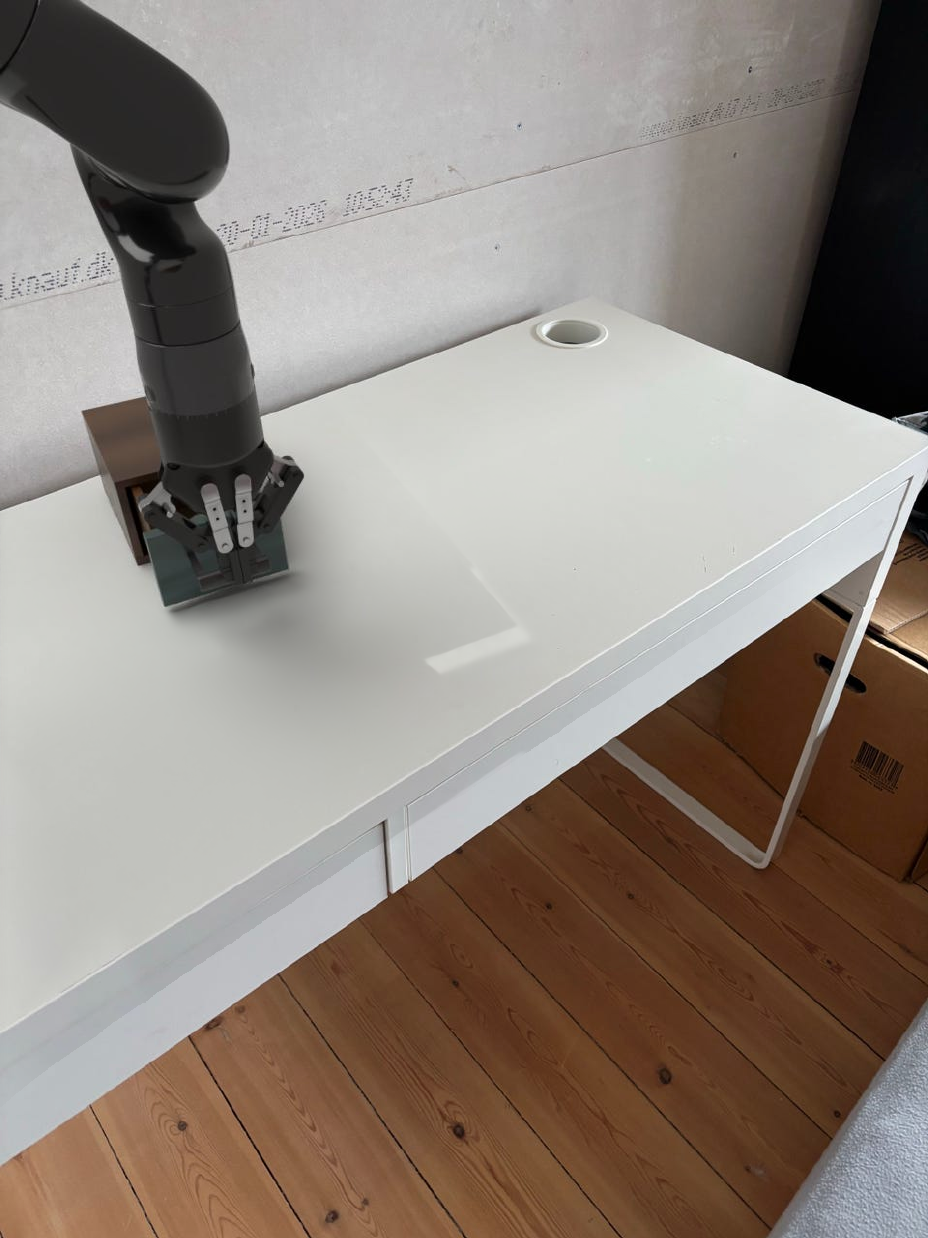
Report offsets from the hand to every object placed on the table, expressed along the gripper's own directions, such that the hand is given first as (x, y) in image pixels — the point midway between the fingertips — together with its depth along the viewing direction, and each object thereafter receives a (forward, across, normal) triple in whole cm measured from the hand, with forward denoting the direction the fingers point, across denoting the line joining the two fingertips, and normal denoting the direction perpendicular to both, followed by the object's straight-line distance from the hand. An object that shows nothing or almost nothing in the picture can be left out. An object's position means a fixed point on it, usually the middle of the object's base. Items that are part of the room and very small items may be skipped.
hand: (240, 579), depth 80 cm
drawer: (+5, 0, -10) cm, 11 cm away
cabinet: (+6, 0, -22) cm, 22 cm away
